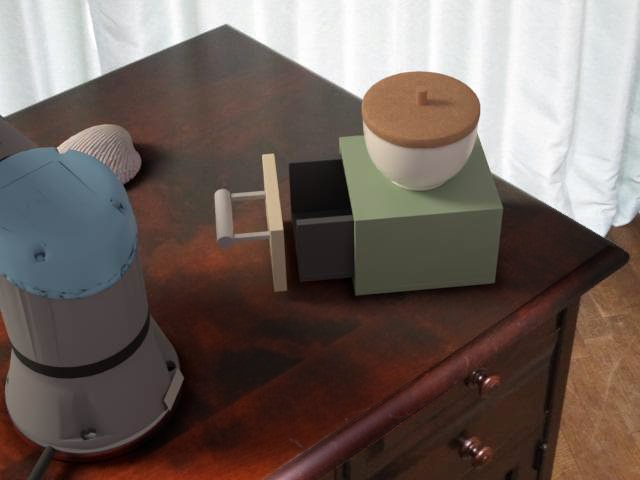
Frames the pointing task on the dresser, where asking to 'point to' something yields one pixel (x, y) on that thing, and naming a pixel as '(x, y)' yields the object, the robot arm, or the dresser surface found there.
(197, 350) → the dresser surface
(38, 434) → the robot arm
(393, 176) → the trinket box
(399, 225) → the cabinet
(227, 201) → the drawer
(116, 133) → the seashell
